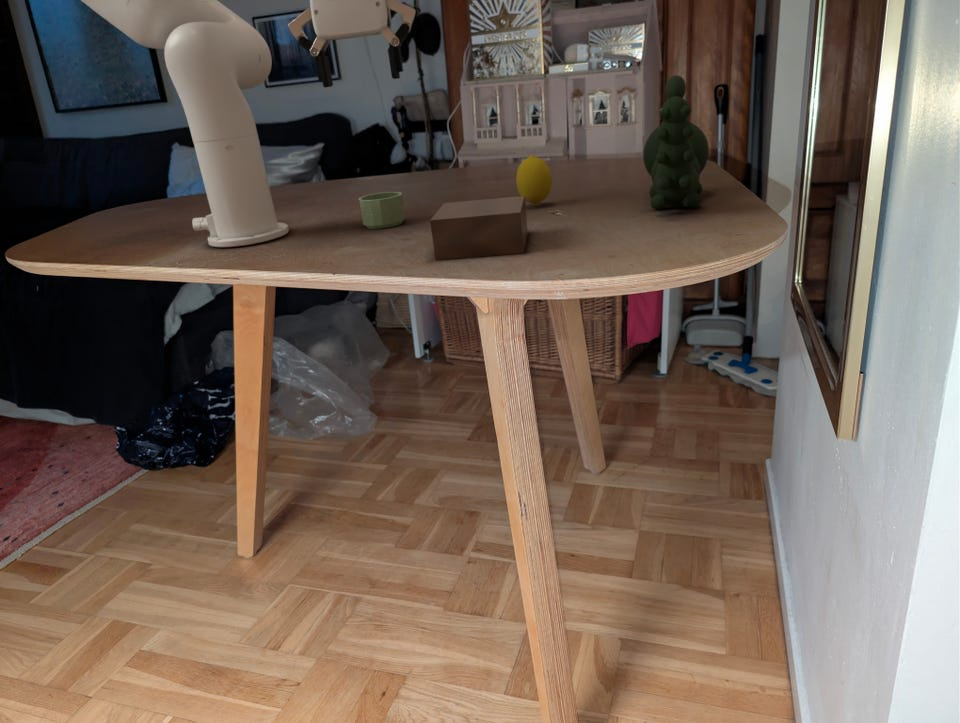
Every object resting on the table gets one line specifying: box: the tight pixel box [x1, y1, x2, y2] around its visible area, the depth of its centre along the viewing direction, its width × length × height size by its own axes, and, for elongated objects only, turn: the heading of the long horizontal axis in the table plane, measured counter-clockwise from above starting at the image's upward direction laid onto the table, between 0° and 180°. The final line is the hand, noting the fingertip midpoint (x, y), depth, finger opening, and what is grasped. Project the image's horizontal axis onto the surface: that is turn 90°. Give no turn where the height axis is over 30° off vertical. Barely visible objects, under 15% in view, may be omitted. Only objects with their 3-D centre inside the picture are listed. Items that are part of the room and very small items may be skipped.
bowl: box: [357, 191, 406, 230], centre depth 111 cm, size 7×7×4 cm
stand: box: [429, 196, 528, 261], centre depth 90 cm, size 11×11×5 cm
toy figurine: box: [643, 74, 710, 210], centre depth 100 cm, size 9×19×25 cm
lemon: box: [515, 154, 552, 207], centre depth 111 cm, size 6×6×8 cm
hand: (362, 82), depth 98 cm, fingers open, 9 cm apart
